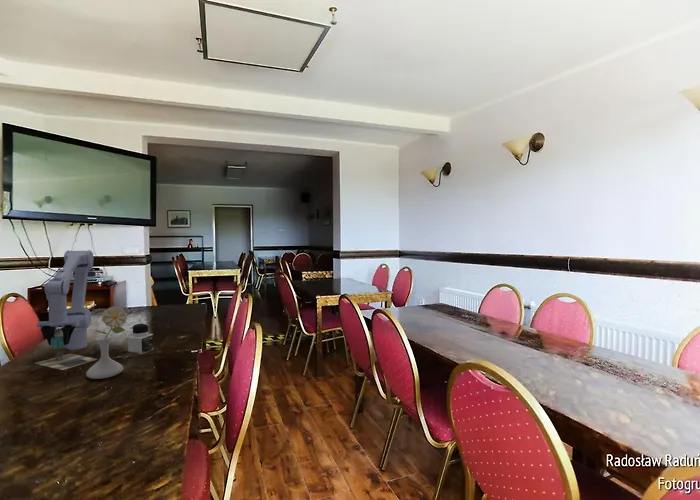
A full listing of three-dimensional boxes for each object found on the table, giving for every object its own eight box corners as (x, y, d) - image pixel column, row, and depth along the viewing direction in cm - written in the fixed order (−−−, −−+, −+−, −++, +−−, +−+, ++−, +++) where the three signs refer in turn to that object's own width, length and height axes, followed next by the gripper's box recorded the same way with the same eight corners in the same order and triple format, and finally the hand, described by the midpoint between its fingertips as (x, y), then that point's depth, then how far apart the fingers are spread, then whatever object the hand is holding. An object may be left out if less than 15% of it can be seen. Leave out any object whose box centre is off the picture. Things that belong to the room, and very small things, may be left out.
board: (34, 365, 147) (33, 356, 147) (70, 355, 159) (70, 347, 159) (62, 372, 140) (62, 363, 140) (98, 361, 152) (97, 353, 152)
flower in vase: (83, 384, 129) (81, 311, 128) (88, 373, 139) (86, 305, 138) (127, 377, 135) (126, 308, 134) (129, 367, 145) (127, 302, 144)
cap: (56, 345, 153) (56, 335, 153) (69, 344, 154) (69, 335, 153) (48, 349, 148) (47, 338, 148) (62, 348, 149) (61, 338, 149)
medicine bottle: (142, 354, 160) (141, 326, 160) (127, 353, 162) (127, 325, 161) (154, 349, 167) (153, 322, 167) (140, 348, 169) (139, 322, 168)
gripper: (30, 313, 145) (32, 348, 146) (71, 312, 147) (72, 346, 148) (43, 309, 152) (44, 342, 153) (82, 308, 154) (83, 341, 155)
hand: (59, 344), depth 151 cm, fingers closed on cap, 5 cm apart
